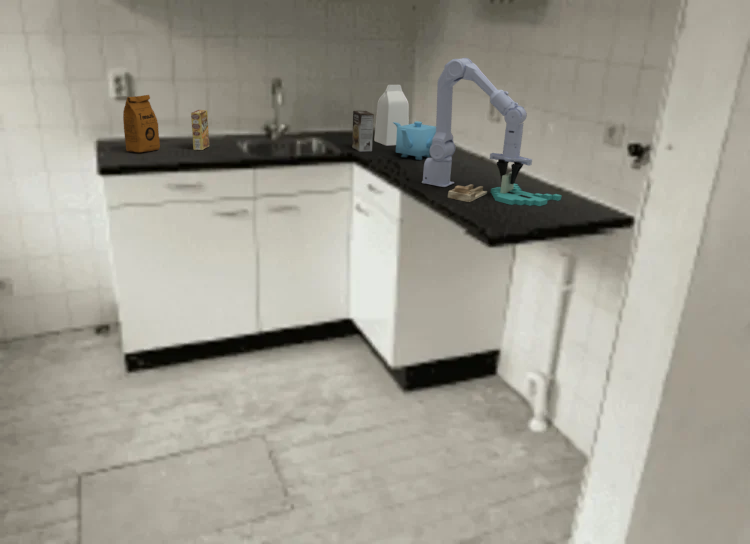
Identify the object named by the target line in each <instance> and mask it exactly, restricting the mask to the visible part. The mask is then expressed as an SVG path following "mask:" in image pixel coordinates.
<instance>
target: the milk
mask: <svg viewBox="0 0 750 544" xmlns="http://www.w3.org/2000/svg"><path fill="white" fill-rule="evenodd" d="M409 103H410V102H409V101H408V99H407V97H406V95H405V92H403V88H402V85H401V84H387V86H386V89H385V91H384V92H383V93H382V95H380V97H379V98H378V101H377V104H376V105H377V106H376V114H375V115H376V117H375V127H374V128H375V129H374V136H373V142H376V143H379V144H382V145H383V146H396V137H397V126H396V125H395V124H394V123H393V122H396V123H399V124H400V125H401V126H404V125H408V124H410V121H409V119H410V118H409V117H410V104H409Z"/></svg>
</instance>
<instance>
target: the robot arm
mask: <svg viewBox="0 0 750 544" xmlns="http://www.w3.org/2000/svg"><path fill="white" fill-rule="evenodd" d="M460 80H466V81H472V82H474V83H475V85H477V86H478V87H479V89H481V90H482V91H483V92H484V93H485V94H486V95H487V96H488V97H489V103H490V104H491V105H492V106H493V107H494V108H495V109H496V110H497V111H498V113H500V114H501V116H503V117H504V121H505V123H506V126H505V133H504V140H503V148H502V153H497V152H496V153H495V152H491V153H489V160H496V165H497V168H498V171H499V175H500V182H501V183H502V176H503V175H505V174H507V172H508V171H507V170H508V166H509V163H512V164H511V165H510V166H511V172H512V174H511V182H510V184H516V179H517V177H518V175H519V172H520V171H521V170H522V168H523V166H524V165H525V166H528V167H529V166H532V163H533V158H528V157H525V156H524V157H523V156H520V155H521V149H522V141H523V140H522V139H523V131H524V130H523V129H524V121H526V119H527V117H528V116H527V114H528V113H527V110H526V109H525V107H524V106H522V105H519V103H518V101H514V100H513V99H512V98H511V96H509V94H510V93H509V91H508V90H503V89H498V88H497V87H496V86H495V85H494V84H493V83H492V81H490V80H489V78H488V77H487V76H486V75H485V74H484V73H483V72H482V71H481V69H480V68H479V66H478V65H477V64H476V63H474V62H473V61H472V60H471V59H470V58H468V57H462V58H453V59H451V60H449V61H448V62H447V63H446V64H444V67H443V70H442V72H441V74H440V76H439V77H438V79H437V90H436V116H435V117H436V123H435V124H436V125H435V126H436V133H435V135H434V137H433V139H432V145H431V147H430V154H429V155H430V156H431V157H426V159H425V161H424V164H423V172H422V174H423V175H422V181H421V183H422V184H425V185H432V186H436V187H442V188H447V187H448V186H451V185H453V184H455V182H454V181H451V172H452V162H453V158H452V157H453V155H454V153H455V152H456V145H455V142H454V136H453V133H452V119H453V118H452V117H453V115H452V114H453V113H452V112H453V93H454V91H453V90H454V86H455V85H456V84H458V82H460Z"/></svg>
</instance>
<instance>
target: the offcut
mask: <svg viewBox="0 0 750 544" xmlns="http://www.w3.org/2000/svg"><path fill="white" fill-rule="evenodd" d="M469 188H470V187H465V186H464V185H456V186H454V189H455V191H454V192H460V193H468V192H469Z"/></svg>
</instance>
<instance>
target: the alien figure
mask: <svg viewBox="0 0 750 544" xmlns="http://www.w3.org/2000/svg"><path fill="white" fill-rule="evenodd" d="M500 191H501V186H497V187H493V188H490V194H491V196H493V199H494V201H496V202H499V203H502V204H503V203H504V204H506V205H510V206H513V205H517V206H523V205H526V206H530V207H531V206H537V207H542V206H545V205H548V201H550V200H552V201H557V202H558V201H561V200H562V195H561V194H557V193H555V194H550V193H544V194H542V193H539V192H538V193H532V192H528V191H523V190H522V188H521V186H519V184H517V183H514V187H513V190H511V191H509V192H507V193H505V194H503V193H500Z"/></svg>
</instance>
